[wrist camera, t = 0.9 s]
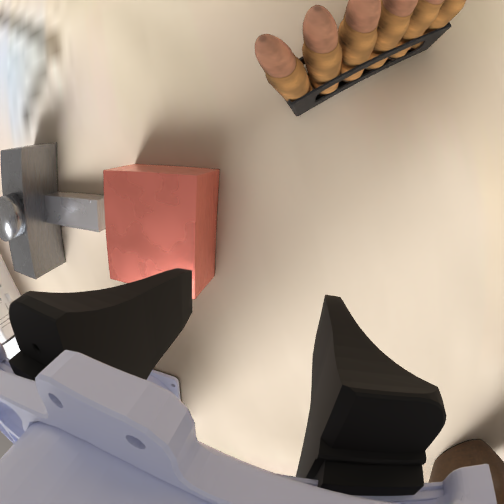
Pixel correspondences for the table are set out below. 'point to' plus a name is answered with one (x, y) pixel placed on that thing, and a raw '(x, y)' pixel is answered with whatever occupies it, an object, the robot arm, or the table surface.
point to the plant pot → (470, 463)
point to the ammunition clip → (351, 46)
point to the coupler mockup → (40, 209)
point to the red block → (161, 221)
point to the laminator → (6, 302)
